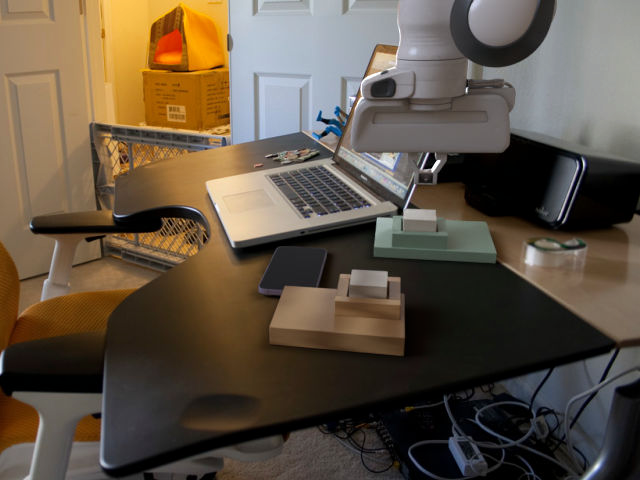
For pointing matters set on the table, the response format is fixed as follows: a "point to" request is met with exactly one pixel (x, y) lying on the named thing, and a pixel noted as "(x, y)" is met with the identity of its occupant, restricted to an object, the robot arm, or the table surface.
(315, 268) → the smartphone
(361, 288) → the key front
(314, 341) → the wooden platform
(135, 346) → the table surface
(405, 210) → the key back
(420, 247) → the tiered green tray
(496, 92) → the robot arm
